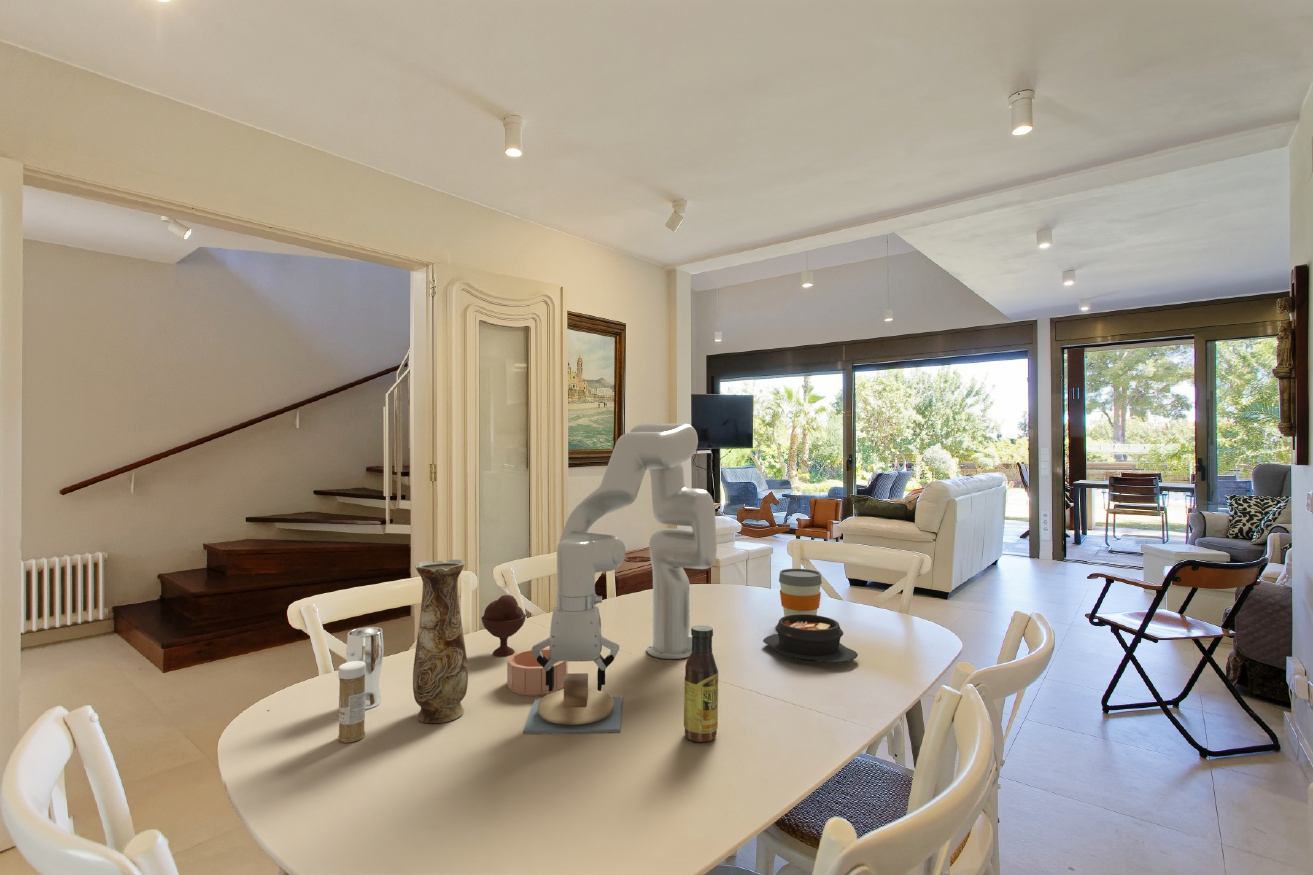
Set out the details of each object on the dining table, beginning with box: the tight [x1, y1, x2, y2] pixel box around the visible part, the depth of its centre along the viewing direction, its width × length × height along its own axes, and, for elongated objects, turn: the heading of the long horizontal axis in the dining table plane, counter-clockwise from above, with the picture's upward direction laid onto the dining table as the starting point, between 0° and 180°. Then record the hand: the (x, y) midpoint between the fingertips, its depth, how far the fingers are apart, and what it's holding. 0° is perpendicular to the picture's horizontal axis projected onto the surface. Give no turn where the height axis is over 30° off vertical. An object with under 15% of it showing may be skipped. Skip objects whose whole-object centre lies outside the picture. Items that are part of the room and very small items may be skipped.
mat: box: [522, 696, 623, 734], centre depth 126 cm, size 18×15×1 cm
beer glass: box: [345, 626, 384, 711], centre depth 131 cm, size 7×7×15 cm
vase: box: [412, 559, 469, 724], centre depth 127 cm, size 10×11×30 cm
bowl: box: [506, 647, 569, 697], centre depth 142 cm, size 13×13×6 cm
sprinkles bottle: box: [337, 661, 366, 744], centre depth 116 cm, size 5×5×14 cm
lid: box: [538, 672, 614, 725], centre depth 126 cm, size 15×15×7 cm
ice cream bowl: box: [481, 594, 527, 657], centre depth 163 cm, size 11×11×15 cm
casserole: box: [762, 614, 859, 665], centre depth 162 cm, size 25×19×8 cm
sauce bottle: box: [683, 624, 719, 743], centre depth 117 cm, size 7×6×20 cm
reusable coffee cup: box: [778, 568, 823, 617], centre depth 190 cm, size 13×13×15 cm
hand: (575, 688), depth 126 cm, fingers open, 9 cm apart
